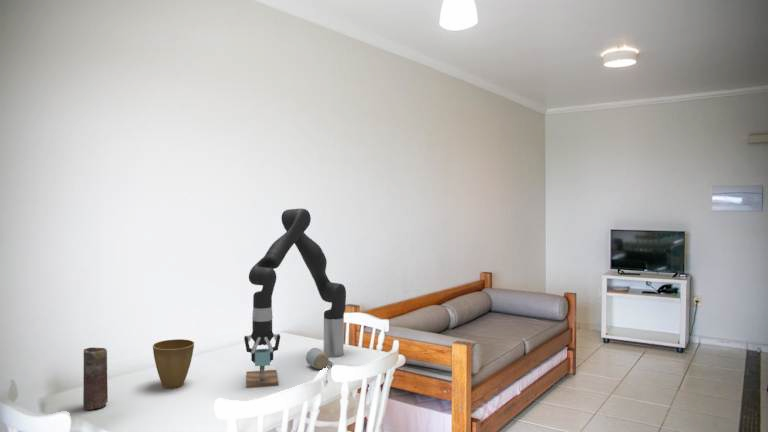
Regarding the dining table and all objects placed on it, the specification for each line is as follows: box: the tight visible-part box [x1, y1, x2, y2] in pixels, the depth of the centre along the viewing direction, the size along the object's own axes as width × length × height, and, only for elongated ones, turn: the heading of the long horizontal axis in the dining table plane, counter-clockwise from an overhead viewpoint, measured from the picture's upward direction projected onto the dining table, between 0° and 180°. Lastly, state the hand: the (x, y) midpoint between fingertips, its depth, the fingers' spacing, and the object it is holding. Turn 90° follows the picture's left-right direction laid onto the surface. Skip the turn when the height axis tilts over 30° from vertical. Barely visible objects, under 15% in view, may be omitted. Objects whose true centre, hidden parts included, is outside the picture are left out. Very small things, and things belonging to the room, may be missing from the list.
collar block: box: [254, 348, 271, 367], centre depth 209 cm, size 6×6×5 cm
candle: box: [82, 347, 109, 411], centre depth 185 cm, size 8×7×20 cm
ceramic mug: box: [305, 347, 334, 370], centre depth 231 cm, size 11×8×8 cm
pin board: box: [245, 366, 279, 389], centre depth 214 cm, size 16×12×7 cm
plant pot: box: [152, 338, 195, 389], centre depth 207 cm, size 15×15×16 cm
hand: (262, 361), depth 210 cm, fingers closed on collar block, 5 cm apart
